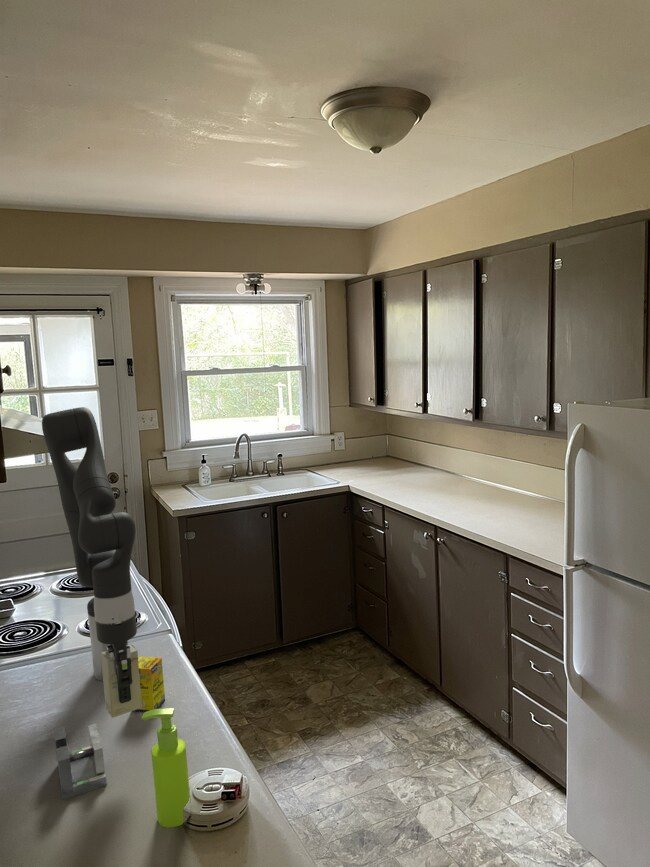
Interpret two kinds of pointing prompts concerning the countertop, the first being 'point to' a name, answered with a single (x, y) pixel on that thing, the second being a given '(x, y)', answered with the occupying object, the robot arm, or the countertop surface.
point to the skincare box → (112, 688)
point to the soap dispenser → (169, 770)
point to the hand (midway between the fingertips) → (123, 694)
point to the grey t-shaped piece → (92, 751)
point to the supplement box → (151, 683)
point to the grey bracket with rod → (75, 769)
